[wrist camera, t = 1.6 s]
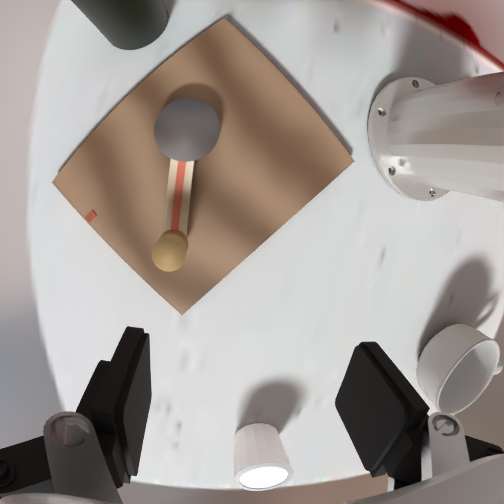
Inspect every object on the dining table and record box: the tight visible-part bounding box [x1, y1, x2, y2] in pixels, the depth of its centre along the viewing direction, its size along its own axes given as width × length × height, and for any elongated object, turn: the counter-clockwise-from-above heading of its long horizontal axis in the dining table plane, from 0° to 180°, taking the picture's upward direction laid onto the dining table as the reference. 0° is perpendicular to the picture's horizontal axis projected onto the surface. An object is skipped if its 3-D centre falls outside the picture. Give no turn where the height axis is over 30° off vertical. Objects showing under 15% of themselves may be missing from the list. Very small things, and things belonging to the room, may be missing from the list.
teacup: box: [417, 324, 503, 415], centre depth 31 cm, size 14×11×8 cm
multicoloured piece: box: [152, 98, 220, 272], centre depth 22 cm, size 13×5×4 cm, turn 172°
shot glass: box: [234, 423, 294, 491], centre depth 31 cm, size 7×7×7 cm
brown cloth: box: [52, 18, 354, 315], centre depth 24 cm, size 20×17×1 cm
